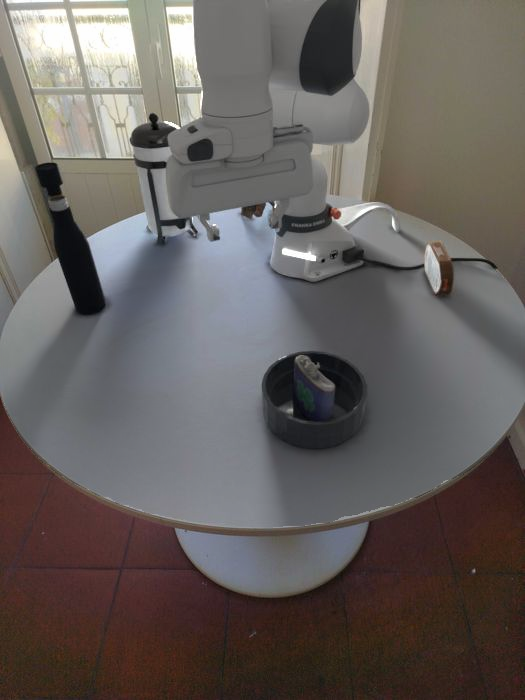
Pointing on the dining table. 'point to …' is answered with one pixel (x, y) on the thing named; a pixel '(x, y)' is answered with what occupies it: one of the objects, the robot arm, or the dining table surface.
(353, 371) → the black screw cap
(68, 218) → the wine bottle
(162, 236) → the coffee press
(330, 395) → the flask
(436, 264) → the tin
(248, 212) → the orange brown figure
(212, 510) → the dining table surface
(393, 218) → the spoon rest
